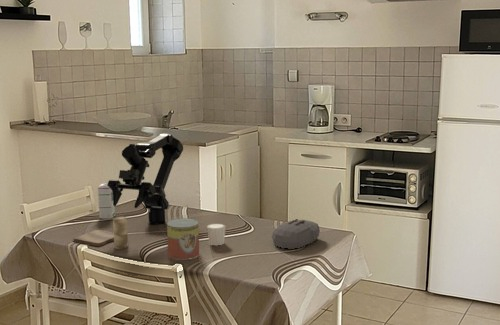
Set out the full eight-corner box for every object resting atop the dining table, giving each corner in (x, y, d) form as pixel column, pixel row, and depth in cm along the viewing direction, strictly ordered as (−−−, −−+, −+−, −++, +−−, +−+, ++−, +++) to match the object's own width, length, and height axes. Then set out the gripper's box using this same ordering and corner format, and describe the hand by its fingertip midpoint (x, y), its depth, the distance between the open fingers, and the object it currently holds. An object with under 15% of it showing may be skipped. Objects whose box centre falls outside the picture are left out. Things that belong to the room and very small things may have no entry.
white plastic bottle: (112, 218, 270) (111, 186, 268) (99, 218, 270) (97, 186, 268) (115, 215, 276) (114, 183, 273) (102, 215, 276) (100, 183, 273)
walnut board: (97, 232, 251) (97, 229, 250) (122, 237, 244) (122, 234, 244) (73, 241, 240) (73, 238, 239) (99, 246, 233) (98, 243, 233)
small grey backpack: (291, 233, 248) (263, 246, 232) (291, 213, 247) (263, 225, 231) (325, 239, 240) (298, 254, 224) (325, 218, 238) (298, 231, 222)
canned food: (174, 262, 216) (173, 228, 214) (163, 252, 226) (162, 220, 224) (204, 256, 221) (203, 224, 219) (192, 247, 231) (191, 216, 229)
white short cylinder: (228, 241, 238) (228, 224, 236) (221, 247, 231) (221, 229, 230) (211, 240, 240) (211, 222, 239) (204, 245, 233) (204, 227, 232)
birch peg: (127, 244, 236) (126, 216, 234) (128, 248, 231) (127, 219, 229) (114, 245, 234) (112, 217, 232) (114, 249, 230) (113, 220, 228)
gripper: (107, 159, 242) (94, 195, 235) (149, 162, 236) (137, 198, 229) (120, 173, 251) (107, 208, 244) (161, 176, 245) (149, 212, 238)
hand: (124, 206), depth 238 cm, fingers open, 9 cm apart
